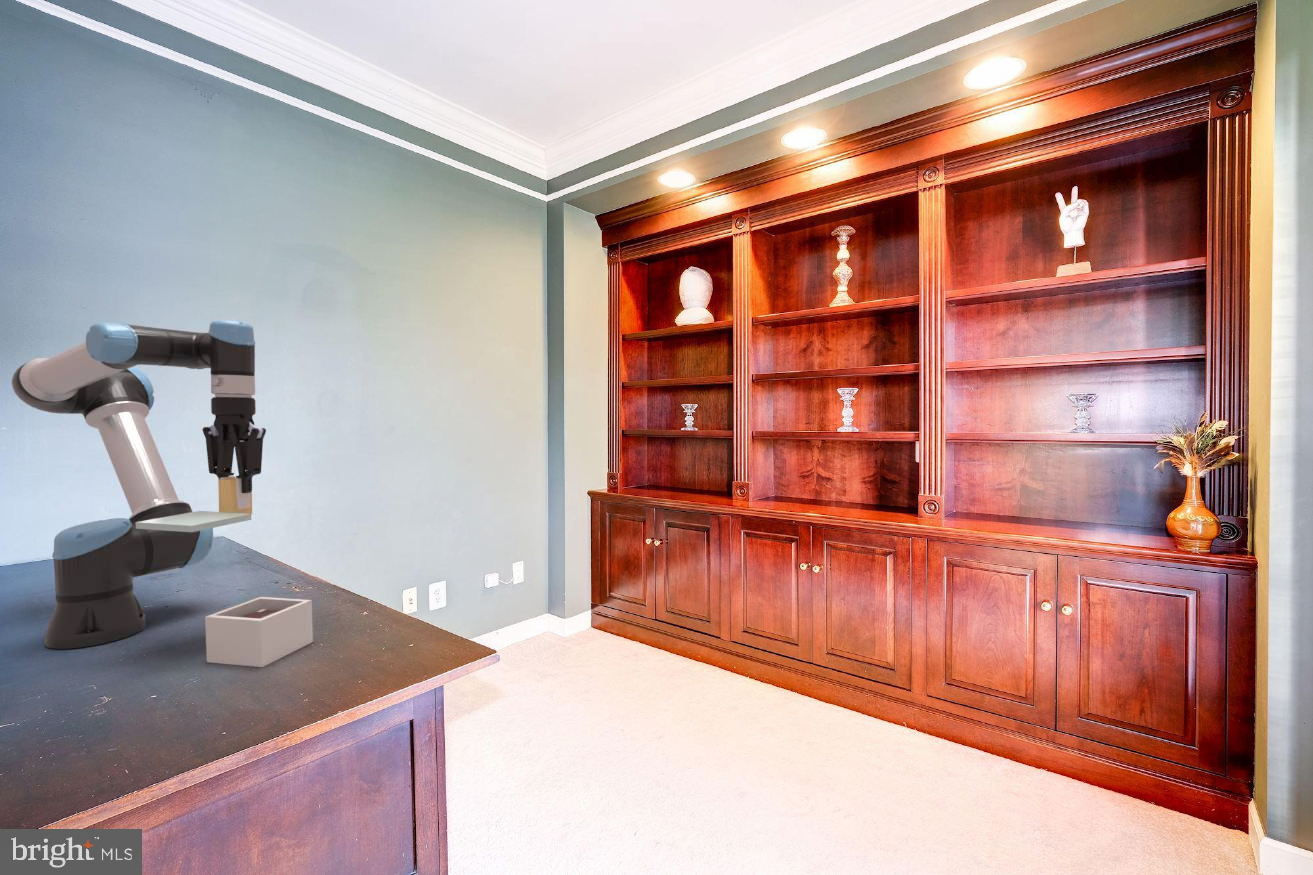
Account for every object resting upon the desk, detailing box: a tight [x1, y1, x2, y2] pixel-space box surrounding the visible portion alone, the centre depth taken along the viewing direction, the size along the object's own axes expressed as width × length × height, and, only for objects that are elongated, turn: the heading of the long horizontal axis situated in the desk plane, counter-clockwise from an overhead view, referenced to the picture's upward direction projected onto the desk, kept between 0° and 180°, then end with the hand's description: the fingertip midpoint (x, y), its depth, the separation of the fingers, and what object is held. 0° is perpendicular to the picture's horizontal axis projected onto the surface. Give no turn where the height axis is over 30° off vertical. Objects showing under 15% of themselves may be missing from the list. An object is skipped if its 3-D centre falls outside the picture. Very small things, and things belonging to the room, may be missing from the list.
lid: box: [136, 476, 253, 532], centre depth 117 cm, size 13×18×8 cm
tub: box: [204, 596, 314, 668], centre depth 113 cm, size 12×12×8 cm
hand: (235, 507), depth 124 cm, fingers closed on lid, 3 cm apart
